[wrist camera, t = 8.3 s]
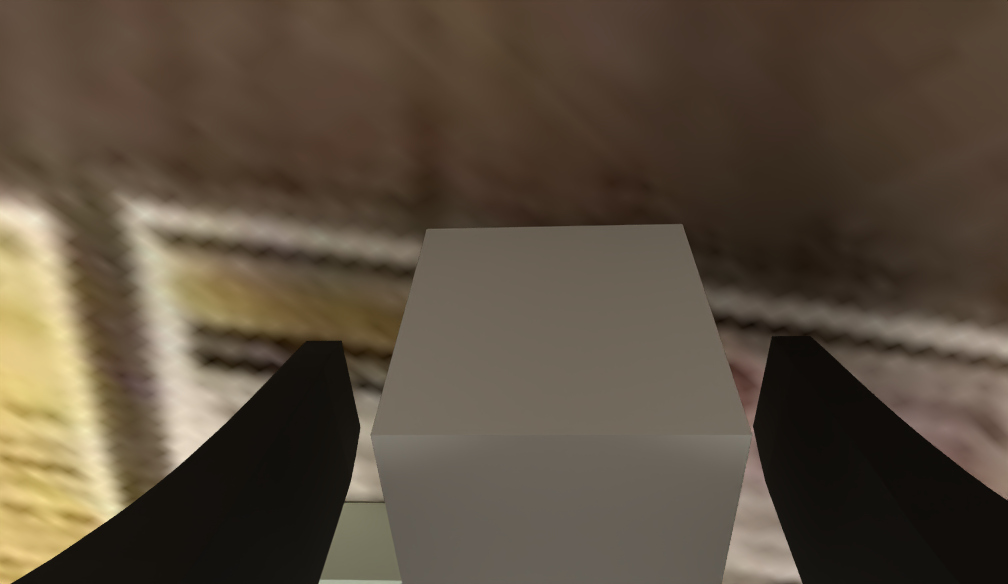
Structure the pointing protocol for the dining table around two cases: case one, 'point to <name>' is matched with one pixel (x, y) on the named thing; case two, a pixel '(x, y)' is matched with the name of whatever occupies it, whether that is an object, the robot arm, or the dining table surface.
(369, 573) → the serving bowl
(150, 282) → the dining table surface
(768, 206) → the dining table surface
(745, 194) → the dining table surface
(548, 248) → the grey stone block
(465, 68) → the dining table surface
